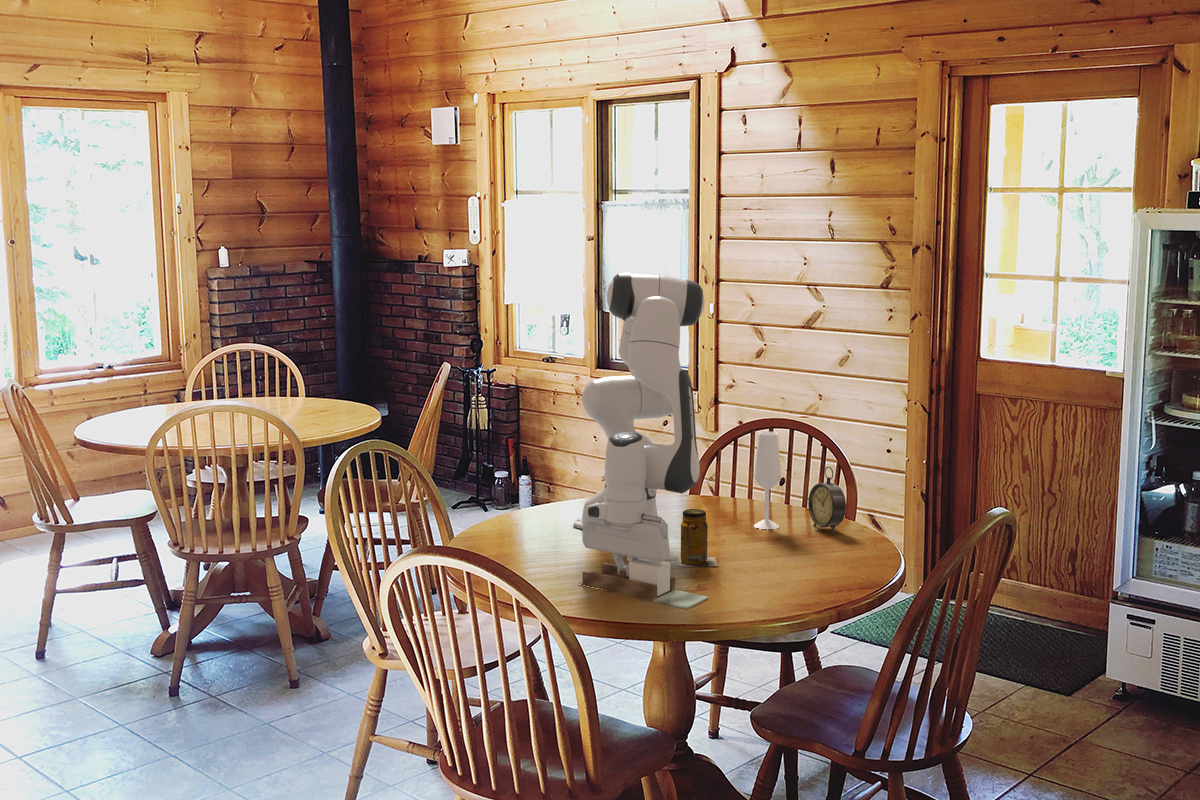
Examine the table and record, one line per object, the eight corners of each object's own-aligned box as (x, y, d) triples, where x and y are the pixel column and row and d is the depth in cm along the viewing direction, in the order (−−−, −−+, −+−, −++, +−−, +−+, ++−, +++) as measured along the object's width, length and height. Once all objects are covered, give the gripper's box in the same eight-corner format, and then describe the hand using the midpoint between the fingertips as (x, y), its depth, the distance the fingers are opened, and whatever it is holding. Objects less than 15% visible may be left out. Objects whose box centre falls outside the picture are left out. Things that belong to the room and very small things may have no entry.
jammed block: (629, 590, 245) (629, 562, 244) (641, 584, 249) (642, 556, 248) (657, 596, 241) (657, 567, 240) (669, 590, 245) (670, 562, 244)
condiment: (678, 558, 271) (678, 507, 269) (715, 558, 271) (715, 507, 269) (680, 567, 263) (680, 515, 262) (717, 567, 263) (718, 515, 261)
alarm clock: (806, 525, 298) (807, 463, 296) (824, 523, 301) (826, 461, 298) (831, 536, 289) (833, 471, 286) (849, 534, 291) (851, 470, 288)
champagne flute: (749, 528, 296) (751, 434, 292) (756, 522, 302) (758, 430, 298) (776, 531, 293) (778, 436, 290) (782, 524, 300) (784, 432, 296)
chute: (578, 585, 250) (578, 570, 250) (601, 575, 257) (601, 561, 257) (687, 609, 235) (687, 593, 234) (708, 598, 242) (708, 583, 241)
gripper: (675, 515, 242) (675, 579, 244) (595, 501, 254) (595, 563, 256) (658, 521, 237) (658, 587, 239) (578, 507, 249) (578, 570, 251)
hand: (625, 574), depth 248 cm, fingers closed
